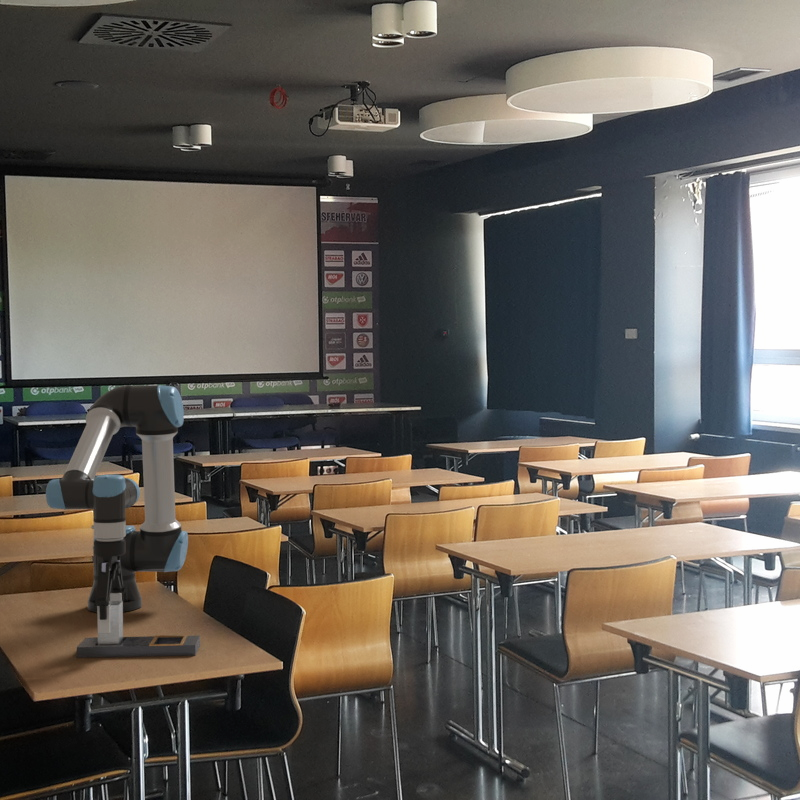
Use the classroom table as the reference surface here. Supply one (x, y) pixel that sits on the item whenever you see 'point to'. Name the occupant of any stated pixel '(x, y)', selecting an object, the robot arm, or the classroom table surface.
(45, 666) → the classroom table surface
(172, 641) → the peg insertion base
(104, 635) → the square gray post
